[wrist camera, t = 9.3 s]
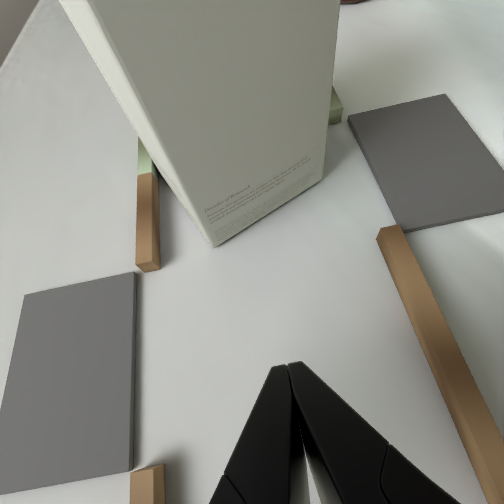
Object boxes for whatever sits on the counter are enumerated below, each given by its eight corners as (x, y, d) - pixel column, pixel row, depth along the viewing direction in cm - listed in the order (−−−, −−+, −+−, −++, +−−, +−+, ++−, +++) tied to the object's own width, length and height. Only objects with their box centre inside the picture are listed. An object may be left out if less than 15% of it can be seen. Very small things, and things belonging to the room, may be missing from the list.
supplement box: (327, 180, 20) (386, -262, 7) (213, 252, 19) (8, -124, 5) (253, 112, 24) (199, -247, 11) (155, 167, 23) (-43, -166, 10)
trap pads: (648, 375, 13) (658, 373, 13) (-11, 496, 14) (-19, 498, 14) (442, 98, 22) (445, 93, 22) (51, 187, 23) (47, 184, 23)
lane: (581, 644, 10) (684, 730, 7) (141, 709, 10) (88, 811, 8) (325, 88, 24) (329, 49, 21) (145, 130, 25) (127, 97, 22)
